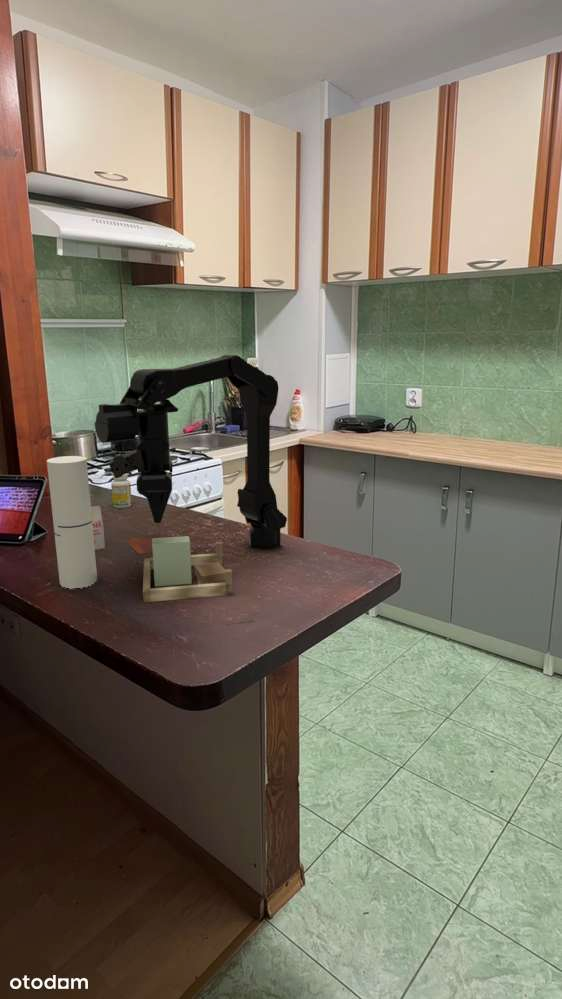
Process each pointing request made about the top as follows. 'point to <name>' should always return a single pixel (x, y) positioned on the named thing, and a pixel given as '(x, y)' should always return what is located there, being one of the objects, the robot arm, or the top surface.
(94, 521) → the white box
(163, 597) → the rack
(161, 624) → the top surface
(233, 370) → the robot arm
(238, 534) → the top surface
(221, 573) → the tan flat block
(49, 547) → the top surface
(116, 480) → the supplement bottle
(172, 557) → the sage green prism
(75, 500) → the cylindrical container
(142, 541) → the wooden tablet
